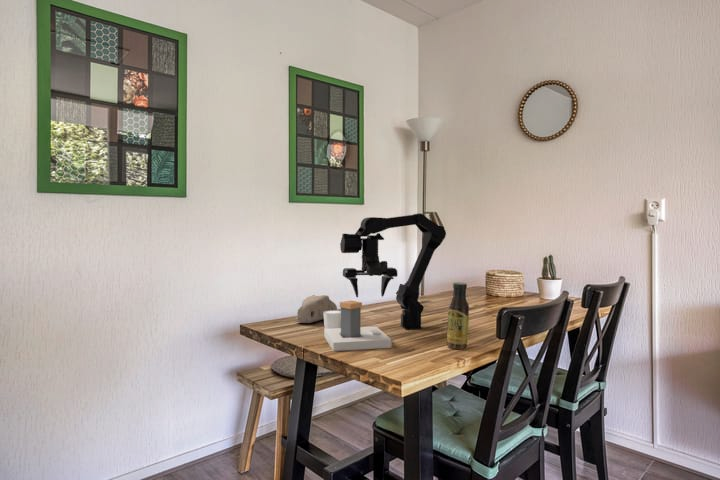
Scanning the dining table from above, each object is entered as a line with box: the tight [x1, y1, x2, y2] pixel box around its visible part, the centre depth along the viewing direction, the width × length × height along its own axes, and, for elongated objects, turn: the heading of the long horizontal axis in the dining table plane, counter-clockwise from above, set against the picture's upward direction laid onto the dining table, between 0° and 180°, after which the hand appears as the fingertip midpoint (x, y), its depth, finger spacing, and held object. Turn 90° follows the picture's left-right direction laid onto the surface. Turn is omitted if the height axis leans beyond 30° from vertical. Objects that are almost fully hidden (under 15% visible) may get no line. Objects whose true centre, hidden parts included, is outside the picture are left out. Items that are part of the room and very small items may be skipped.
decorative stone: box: [294, 294, 338, 324], centre depth 175 cm, size 20×8×10 cm, turn 144°
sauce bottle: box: [446, 281, 470, 350], centre depth 138 cm, size 7×6×20 cm
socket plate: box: [323, 326, 392, 352], centre depth 144 cm, size 18×18×3 cm
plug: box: [339, 300, 363, 338], centre depth 143 cm, size 5×5×12 cm
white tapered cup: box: [323, 309, 341, 329], centre depth 158 cm, size 7×7×7 cm
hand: (369, 296), depth 159 cm, fingers open, 9 cm apart
